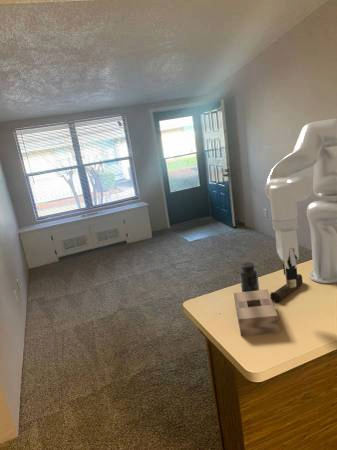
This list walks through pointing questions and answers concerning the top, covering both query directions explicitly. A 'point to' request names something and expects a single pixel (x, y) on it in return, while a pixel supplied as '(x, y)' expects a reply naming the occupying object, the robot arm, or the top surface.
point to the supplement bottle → (249, 277)
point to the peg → (289, 282)
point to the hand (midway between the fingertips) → (290, 276)
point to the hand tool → (285, 290)
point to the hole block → (256, 313)
